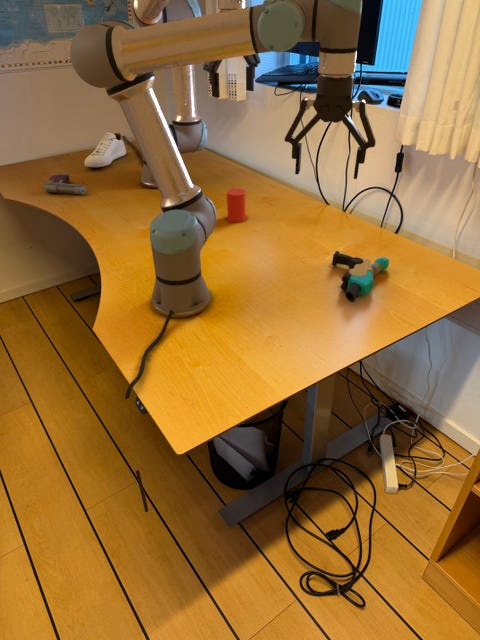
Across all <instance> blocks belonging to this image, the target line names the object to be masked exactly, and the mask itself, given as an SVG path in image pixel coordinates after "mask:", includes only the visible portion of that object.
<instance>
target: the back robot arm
mask: <svg viewBox="0 0 480 640" xmlns="http://www.w3.org/2000/svg"><path fill="white" fill-rule="evenodd" d="M241 8H246V0H217V9H218V10H219V12H218V13H220V12H225V11H230V10H236V9H241ZM131 12H132V13H131V14H132V16H133V20H134V21H135V22H136V24H137V25H138V27H139V28H141V27H147V26H152V25H157V24H162V23H168V22H173V21H178V20H183V19H188V18H194V17H199V16H202V11H201V8H200V5H199V3H198V1H197V0H133V2H132V6H131ZM259 54H260V53H257V54H251V55H245V56H242V58H243V59H244V61H245V63H247V66H246V67H245V90H246V91H247V92H248V91H249V92H254V91H255V82H254V81H255V78H256V68H258V67H259V65H260V64H261V62H262V60H261V58H260V55H259ZM223 60H224V59H222V60H216V61H210V62H204V63H203V67H202V69H203V71H206V72H207V73H208V74H209V75H208V77H209V85H210V86H211V97H213V98H217V99H219V98H221V95H220V91H221V90H220V73H219V72H218V70H219V68H220V66H221V64H222V62H223ZM195 72H196V69H195V64H192V65H187V66H181V67H175V68H171V76H172V90H173V101H174V112H175V113H174V115H173V116H172V117H171V123H169V122H168V121H167V120H166V122H167V124H168V126H169V129H170V131H171V134H172V136H173V138H174V141H175V143H176V145H177V148H178V150H179V153H180V155H183V154H189V153H193V154H194V153H196V152H201V151H203V150H204V149H205V147H206V146H207V141H208V129H207V124H206V122H205V121H204V120H202V115H200V114H199V113H198V106H197V90H196V86H197V85H196V73H195ZM122 139H123V141H126V143H128V144H129V145H130V146H132V148H134V150H135V151H136V152H137V154H138V155H139V157H140V159H141V162H142V164H143V166H142V171H141V177H140V183H141V185H142V186H143V187H145V188H149V189H158V187H157V184H156V182H155V180H154V178H153V176H152V174H151V171H150V169H149V167H148V165H147V163H146V161H145V158H144V156H143V154H142V153H140V152H141V151H139V149H138V148H137V147H136V146H135V145H134V144H133V143H132V142H130V140H128V139H126V137H125V135H124V136H123V135H122Z"/></svg>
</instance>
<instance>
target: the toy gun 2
mask: <svg viewBox="0 0 480 640" xmlns="http://www.w3.org/2000/svg"><path fill="white" fill-rule="evenodd" d="M331 265H332V266H334V267H335V266H337V265H342V266H347V267H348V271H347V272H345V273H344V274H343V276H342V277H341V282H342V283H341V284H340V289H341V290H342V291H344V292H345V293H344V296H345V298H346V299H347V300H348V302H350V303H354V302H355V301H356V300H357V299H358V298H359V297H360V295H361V296H366V295H367V294H369V293H370V292H371V291H372V289H373V288H374V286H375V279H374V276H376V275H377V274H378V273H379V272H384V271H385V270H386V269H388V268H389V265H390V259H389V258H388V257H386V256H385V257H384V256H380V257H378V258H376V259H375V260H374V263H373V262H372V260H370V259H368V258H362V257H358V256H357V257H353V256H351V255H348V254H345V253H342V252H341V253H340V251H339V250H336V251H335V252H334V254H333V255H332V262H331Z"/></svg>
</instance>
